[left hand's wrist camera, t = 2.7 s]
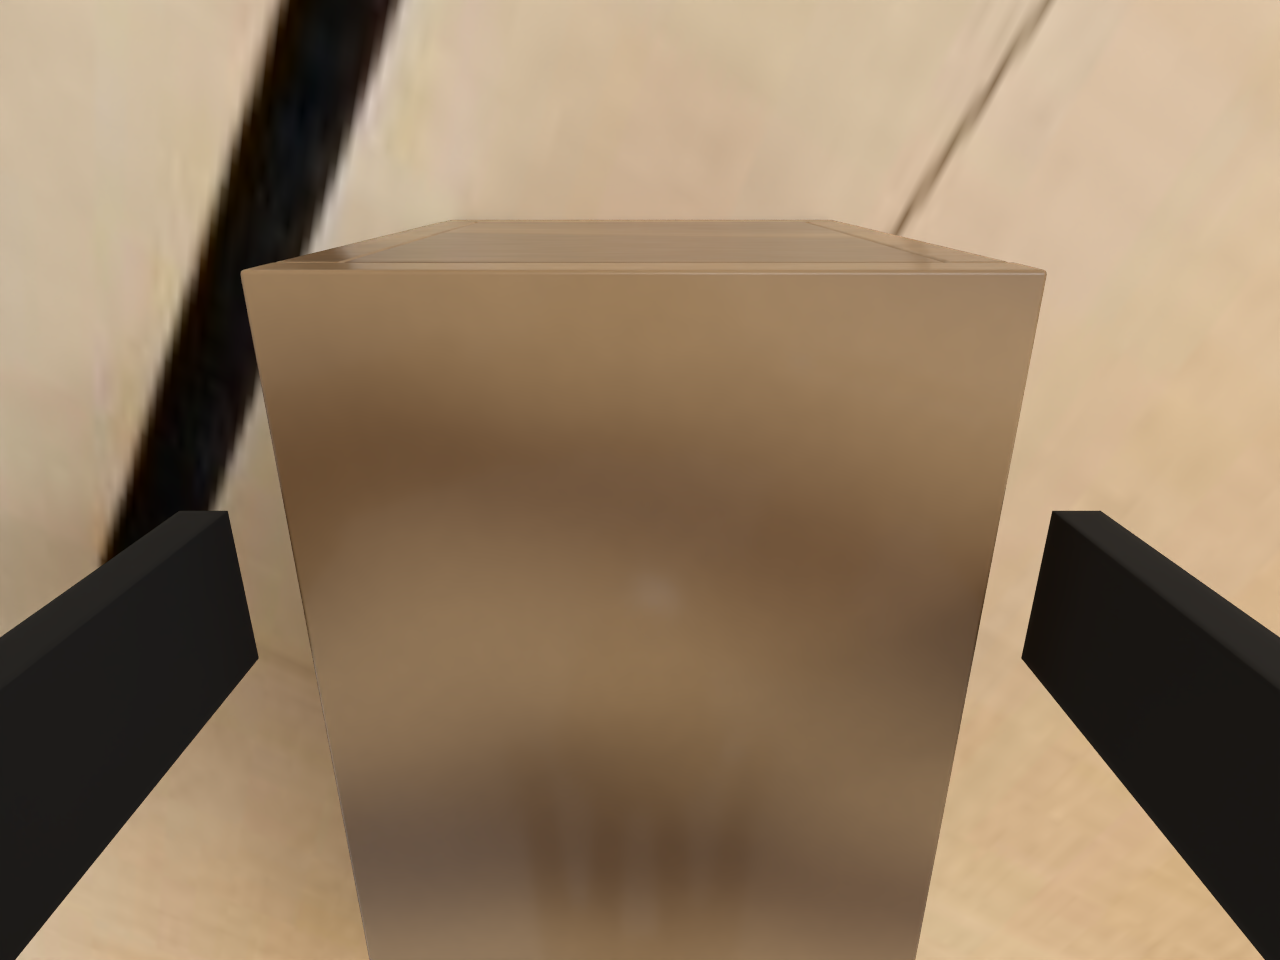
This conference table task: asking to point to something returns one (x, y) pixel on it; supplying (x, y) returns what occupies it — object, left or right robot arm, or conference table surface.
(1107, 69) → the conference table surface
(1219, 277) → the conference table surface
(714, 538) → the cabinet
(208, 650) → the left robot arm
